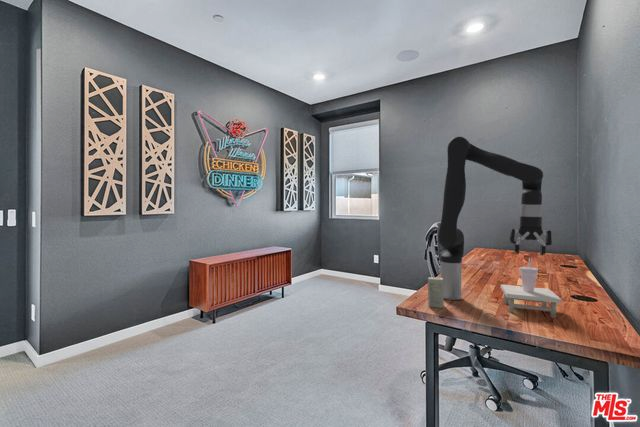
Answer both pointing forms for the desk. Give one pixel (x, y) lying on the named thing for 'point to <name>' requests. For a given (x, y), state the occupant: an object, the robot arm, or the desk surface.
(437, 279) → the skincare box
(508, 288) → the footstool
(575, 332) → the desk surface
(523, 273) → the smoothie
